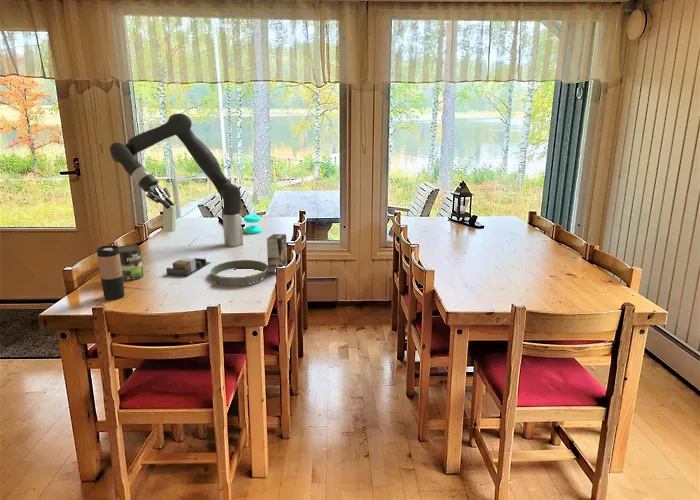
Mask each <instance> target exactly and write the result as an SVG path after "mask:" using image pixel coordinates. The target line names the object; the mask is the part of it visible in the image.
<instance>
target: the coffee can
mask: <svg viewBox="0 0 700 500" xmlns="http://www.w3.org/2000/svg"><path fill="white" fill-rule="evenodd" d="M118 248H119V255H120V261H121V268H122V275H123V282H132V281H138V280H141V279H143V278H144V267H143V260H142V252H141V246H140V245H136V244H135V245H134V244H129V245H128V244H127V245H122V246H118Z"/></svg>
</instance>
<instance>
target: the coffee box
mask: <svg viewBox="0 0 700 500" xmlns="http://www.w3.org/2000/svg"><path fill="white" fill-rule="evenodd" d="M266 249H267V251H266V252H267V266H268V269H267V272H268V273H269V272H274V273H273V274H276V273H275V269H276V268H277V267H283V266H286V265H287V266H288V254H287V253H288V252H287V250H288V249H287V234H284V233H281V234H279V233H277V234H276V233H273V234H272V235H270V236H269V237H267V238H266Z"/></svg>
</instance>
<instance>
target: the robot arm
mask: <svg viewBox="0 0 700 500" xmlns="http://www.w3.org/2000/svg"><path fill="white" fill-rule="evenodd" d="M192 126H193V125H192V119H191V117H190V116H189V115H187V114H185V113H174V114H172V115H169V117H168V121H167V122H166V123H163V124H161V125H159V126H156V127H154V128H150V129H149V130H146V131H144V132H141V133H139V134H136V135H134V136H133V137H131V138H129V139H128V141H127V143H125V144H123V143H121V142H113V143H112V144H111V145H110V147H109V152H110V156H111V159H112V161H114V162H115V163H118V164H121V166H122V167H123V169H124V170H125V172H126V174H128V175H129V177H131V178H132V179H133V181H134V182H135V183H136V184H137V185H138V187H140V189H142V190H143V192H145V193H147V194H146V195H145V196H146V197H147V198H149V199H150V200H151V201H153V202H155V203H156V204H158V203H159V204H161V205H162V207H163V206H164V207H165V208H166V209H168V208H169V207H170V205H172V206H175V203H174V202H173V201H172V200H171V199H170V198H171V194H170V192H169V190H168V188H167V187H163V188H162V187H161V186H160V185H159V181H158V180H157V178H155V176H154V175H153V174H151V172H150V171H149V170H147V169H146V168H145V167H144V166H143V165H142V163H140V162H139V161H138V160H137V159H136V158H135V157H136V155H137V154H138V153H140V152H143V151H145V150H147V149H148V148H150V147H152V146H154V145H156V144H158V143H160V142H162V141H164V140H167V139H169V138H172V137H174V136H176V137H177V139H179V140H180V141H181V142H182V144H183V145H184V147H185V148H186V150H187V152H189V154H190V156H191V157H192V159H193V160H194V162H195V164H197V165H198V167H199V168H200V169H201V171H202V172H203V174H205V176H206V177H207V178H208V179H209V180H210V181H211V183H212V184H213V186H214V187H215V189H216V191H217V193H218V194H219V196H220V197H221V198H222V199H223V208H222V210H221V213H222V225H223V239H224V246H226V247H231V248H232V247H239V246H242V245H244V236H243V227H242V219H241V209H242V197H241V189H240V187H239V186H238V185H235V184H233V183H231V182H230V181H229V180H228V178H227V177H226V176H225V174H224V173H223V171H222V169H221V166H220V164H219V162H218V160H217V157H215V155H214V154H213V152H212V151H211V150H210V148H209V147H208V146H207V145H206V144H205V143H204V142H203V141H202V140H200V139H199V137H197V136H196V135H195V133H194V131H193V130H192Z"/></svg>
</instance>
